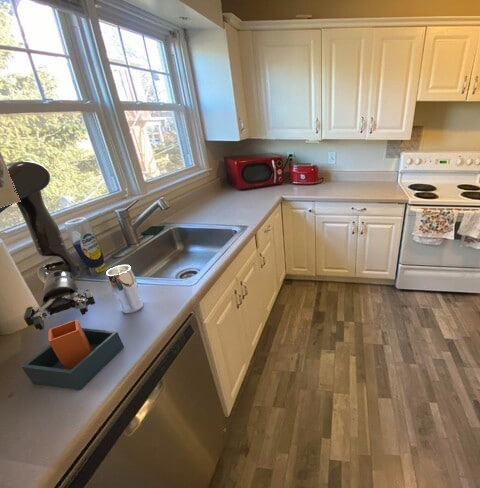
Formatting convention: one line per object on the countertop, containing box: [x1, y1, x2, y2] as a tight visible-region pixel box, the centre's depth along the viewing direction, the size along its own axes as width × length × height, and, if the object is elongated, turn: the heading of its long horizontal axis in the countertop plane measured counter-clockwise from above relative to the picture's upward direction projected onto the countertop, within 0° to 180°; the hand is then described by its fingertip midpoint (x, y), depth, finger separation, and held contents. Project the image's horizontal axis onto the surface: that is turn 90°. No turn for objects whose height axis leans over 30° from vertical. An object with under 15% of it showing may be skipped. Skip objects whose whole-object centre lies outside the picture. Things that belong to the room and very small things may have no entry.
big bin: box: [21, 327, 125, 391], centre depth 73 cm, size 14×14×6 cm
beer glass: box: [105, 264, 144, 314], centre depth 92 cm, size 7×7×15 cm
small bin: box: [48, 318, 93, 370], centre depth 72 cm, size 6×6×11 cm
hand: (62, 319), depth 73 cm, fingers open, 8 cm apart
